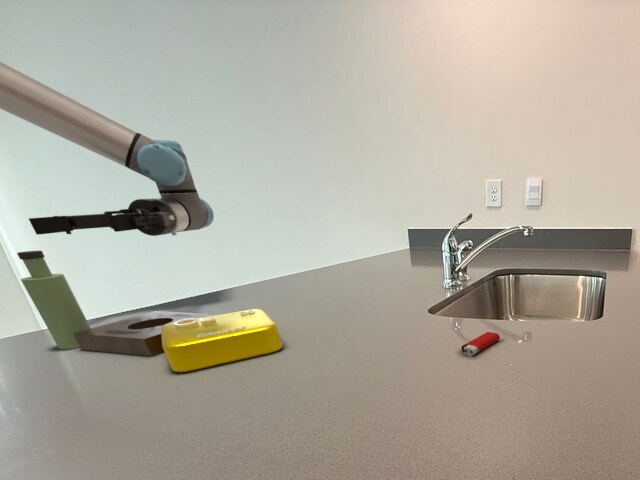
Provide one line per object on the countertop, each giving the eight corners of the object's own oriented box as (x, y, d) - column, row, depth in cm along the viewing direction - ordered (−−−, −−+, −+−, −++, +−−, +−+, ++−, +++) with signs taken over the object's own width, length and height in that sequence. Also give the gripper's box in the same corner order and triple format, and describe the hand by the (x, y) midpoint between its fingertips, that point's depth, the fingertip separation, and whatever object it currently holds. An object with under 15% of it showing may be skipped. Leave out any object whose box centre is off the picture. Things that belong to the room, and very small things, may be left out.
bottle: (51, 348, 71) (-2, 254, 64) (84, 338, 76) (38, 249, 69) (71, 350, 70) (20, 254, 63) (104, 340, 75) (59, 249, 67)
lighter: (499, 333, 68) (473, 349, 62) (500, 340, 69) (473, 356, 63) (485, 331, 70) (458, 346, 64) (485, 338, 70) (458, 353, 64)
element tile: (173, 375, 59) (160, 344, 57) (170, 348, 70) (158, 321, 68) (285, 350, 67) (277, 322, 65) (267, 329, 78) (259, 304, 76)
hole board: (81, 349, 70) (72, 333, 69) (161, 325, 82) (155, 310, 81) (151, 356, 67) (143, 339, 65) (225, 329, 79) (219, 314, 77)
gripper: (220, 232, 94) (154, 244, 75) (109, 236, 93) (13, 249, 74) (209, 196, 91) (136, 199, 72) (93, 200, 90) (-12, 204, 71)
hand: (73, 225), depth 73 cm, fingers open, 13 cm apart
